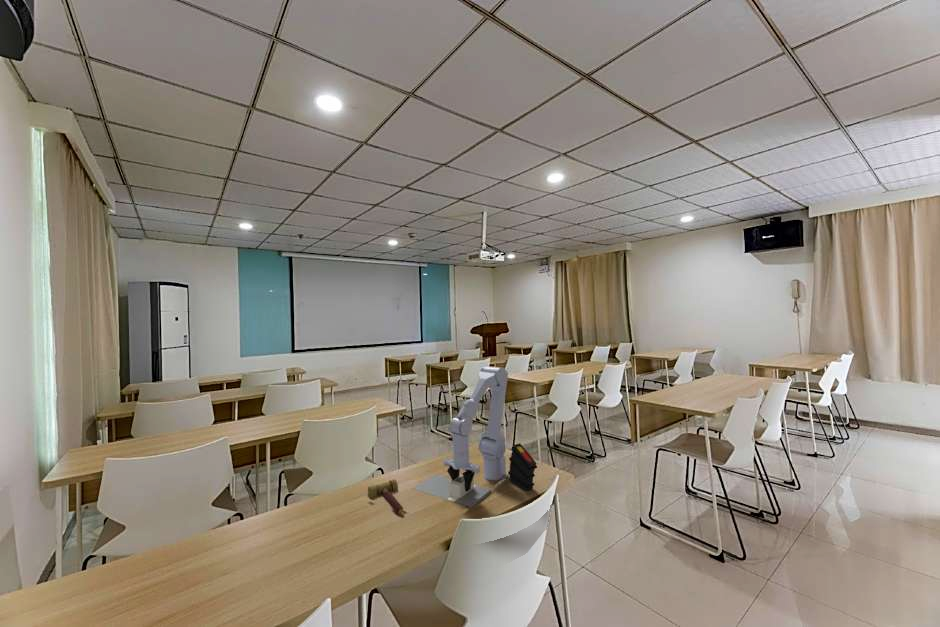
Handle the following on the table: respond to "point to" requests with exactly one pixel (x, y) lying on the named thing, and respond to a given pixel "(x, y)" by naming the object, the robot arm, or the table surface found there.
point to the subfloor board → (442, 489)
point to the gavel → (387, 494)
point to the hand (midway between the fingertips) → (462, 488)
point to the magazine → (522, 468)
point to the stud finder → (459, 487)
